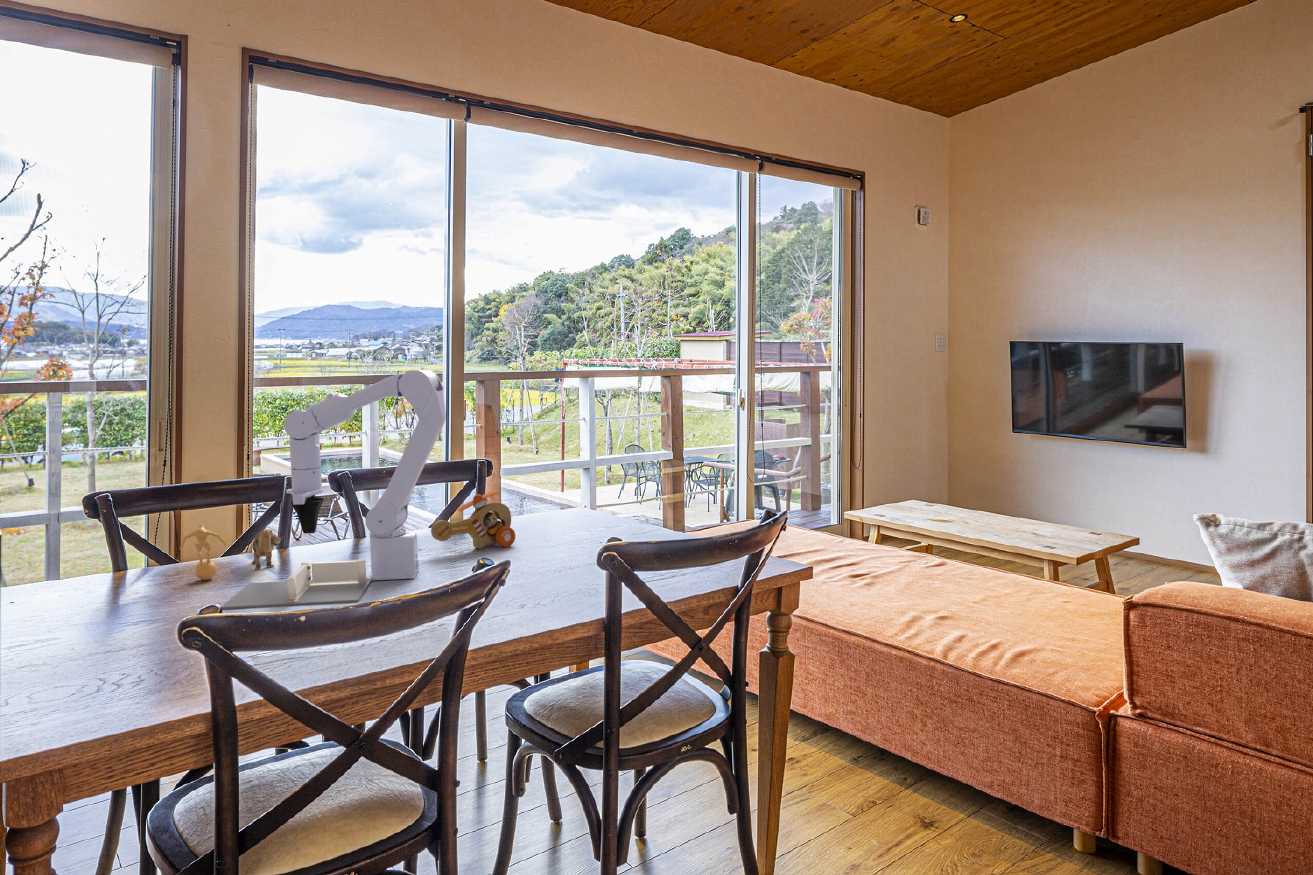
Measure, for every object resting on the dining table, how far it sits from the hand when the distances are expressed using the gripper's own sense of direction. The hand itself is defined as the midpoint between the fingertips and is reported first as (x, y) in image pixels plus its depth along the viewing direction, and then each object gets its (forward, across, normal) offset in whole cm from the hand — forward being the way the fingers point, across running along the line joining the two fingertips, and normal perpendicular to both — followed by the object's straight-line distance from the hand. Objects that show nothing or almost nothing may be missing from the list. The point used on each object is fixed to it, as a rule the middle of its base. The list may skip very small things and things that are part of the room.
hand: (309, 532), depth 170 cm
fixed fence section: (+9, +8, +6) cm, 14 cm away
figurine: (+10, -1, -21) cm, 23 cm away
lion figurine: (+10, -12, -13) cm, 20 cm away
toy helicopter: (+10, -19, +33) cm, 39 cm away
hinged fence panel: (+8, +14, +1) cm, 17 cm away
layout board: (+9, +12, +1) cm, 15 cm away
